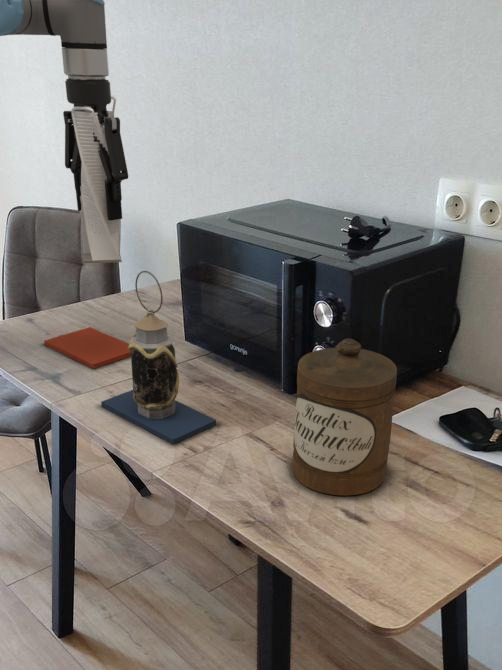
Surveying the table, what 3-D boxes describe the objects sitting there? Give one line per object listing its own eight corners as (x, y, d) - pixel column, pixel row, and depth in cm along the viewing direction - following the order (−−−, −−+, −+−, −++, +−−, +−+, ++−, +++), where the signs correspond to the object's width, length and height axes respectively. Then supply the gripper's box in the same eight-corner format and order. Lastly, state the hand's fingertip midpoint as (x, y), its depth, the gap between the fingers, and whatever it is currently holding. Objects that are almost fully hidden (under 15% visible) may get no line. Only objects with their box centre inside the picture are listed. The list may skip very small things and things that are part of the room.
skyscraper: (126, 252, 141) (114, 93, 126) (129, 263, 134) (117, 97, 119) (83, 253, 139) (65, 92, 124) (84, 265, 132) (66, 96, 118)
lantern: (124, 409, 126) (110, 270, 113) (159, 395, 131) (150, 260, 118) (155, 426, 121) (145, 282, 108) (190, 411, 126) (184, 271, 113)
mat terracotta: (44, 344, 153) (43, 340, 153) (90, 331, 161) (90, 326, 160) (93, 368, 143) (93, 364, 143) (140, 352, 151) (139, 348, 150)
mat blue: (101, 406, 129) (101, 401, 129) (144, 390, 135) (144, 385, 135) (173, 444, 118) (173, 439, 117) (216, 424, 124) (216, 419, 124)
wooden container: (275, 478, 110) (280, 345, 98) (318, 439, 121) (327, 315, 109) (362, 507, 104) (378, 369, 92) (399, 463, 114) (418, 335, 103)
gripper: (144, 81, 117) (151, 222, 129) (70, 73, 129) (83, 202, 141) (106, 82, 112) (118, 228, 124) (33, 73, 124) (50, 207, 137)
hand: (99, 214), depth 133 cm, fingers closed on skyscraper, 9 cm apart
